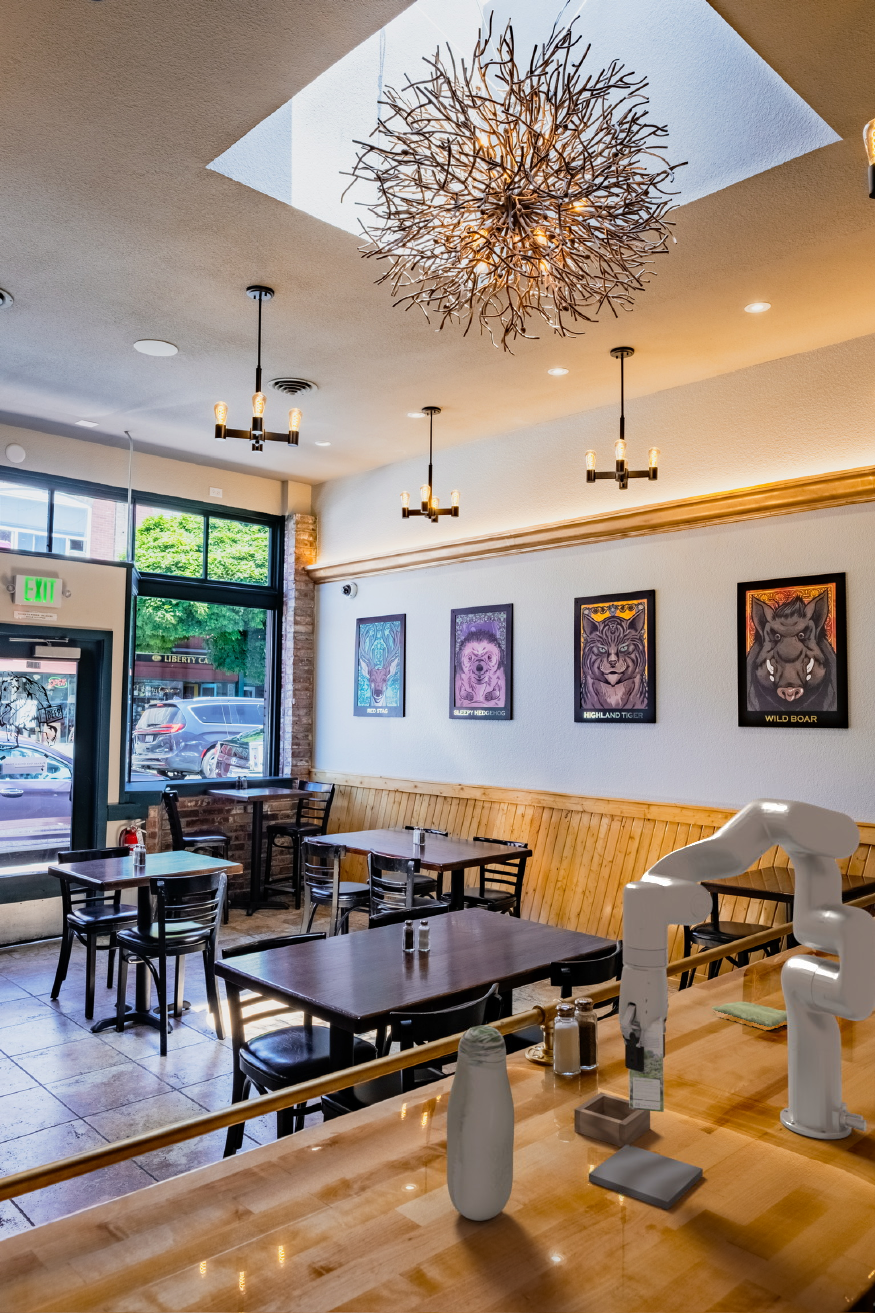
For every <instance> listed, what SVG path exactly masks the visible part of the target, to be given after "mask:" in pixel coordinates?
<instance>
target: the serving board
mask: <svg viewBox="0 0 875 1313" xmlns="http://www.w3.org/2000/svg"><path fill="white" fill-rule="evenodd" d="M703 1171H704V1169H703V1167H700V1166H696V1165H693V1164H689V1163H687V1162H684V1161H681V1160H678V1159H675V1158H671V1157H668V1156H666V1155H662V1154H660V1153H657V1152H652V1151H650V1150H646V1149H644V1148H640V1147H638V1146H634V1145H631V1144H630V1145H629V1144H626V1145H625V1146H624V1147H621V1148H620V1149H619V1150H617V1151H616V1152H615V1153H614V1154H613V1155H611V1156H610V1157H608V1158H607V1159H606V1160H604V1161H603V1162H602V1163H600V1164H599V1165H598V1166H597V1167H595V1168H594V1169H593V1170H591V1171H590V1172H589V1173H588V1182H590V1183H592V1184H593V1183H594V1184H596V1185H599V1186H602V1187H604V1188H607V1189H609V1190H612V1191H615V1192H618V1193H621V1194H623V1195H626V1196H629V1197H631V1198H635V1199H637V1200H639V1201H643V1202H645V1203H648V1204H651V1205H654V1206H657V1207H659V1208H662V1209H664V1210H669V1209H670V1208H672V1207H673V1205H675V1204H676V1203H677V1201H679V1200H680V1199H681V1198H682V1197H683V1196H685V1194H686V1193H687V1192H688V1191H689V1190H690V1189H691V1188H692V1187H693V1186H694V1185H696V1183H697V1182H698V1181H699V1180H701V1178H702V1177H703V1175H704V1174H703Z"/></svg>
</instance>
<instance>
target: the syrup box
mask: <svg viewBox="0 0 875 1313" xmlns="http://www.w3.org/2000/svg"><path fill="white" fill-rule="evenodd" d="M632 1025H635V1026H640V1024H639V1023H636V1022H634V1021H633V1023H632ZM632 1032H634V1033H635V1035H636V1037H637V1036H638V1032H639V1031H635V1030H632ZM663 1034H664V1033H663V1023H662V1018H661V1017H660V1018H658V1019H657V1020H655V1021H654V1022H653V1023H652V1025H651V1027H650V1028H649V1029H647V1030H645V1032H644V1037H643V1042H642V1046H643V1047H644V1071H643V1072H639V1071H635V1070H631V1069H628V1100H629V1107H630V1109H636V1110H646V1111H650V1112H660V1113H664V1111H665V1098H664V1097H665V1094H664V1092H665V1090H664V1087H665V1086H664V1084H665V1083H664V1082H665V1081H664V1058H663Z"/></svg>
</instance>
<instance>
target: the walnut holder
mask: <svg viewBox="0 0 875 1313" xmlns="http://www.w3.org/2000/svg"><path fill="white" fill-rule="evenodd" d="M573 1111H574V1119H573V1120H574V1121H573V1123H574V1128H573V1129H574V1130H573V1131H574V1132H575V1133H579V1134H582V1135H584V1136H586V1137H587V1136H588V1137H590V1138H593V1139H597V1140H599V1141H603V1142H606V1143H609V1144H612V1145H614V1146H618V1147H621V1148H623V1147H624V1146H625V1145H626V1144H630V1145H631V1144H632V1143H634V1142H635V1141H636V1140H637V1139H638V1137H639V1138H640V1137H641V1136H644V1134H645V1133H646V1132H648V1131H649V1130H651V1111H646V1110H636V1109H630V1107H629V1099H626V1098H622V1097H619V1096H615V1095H611V1094H608V1093H605V1092H601V1091H600V1092H599V1093H597V1094H596V1095H594V1096H593V1097H591V1098H590V1099H588V1100H587V1101H585V1102H584V1103H582V1104H581V1105H579V1106H577V1107H576V1108H574V1110H573ZM648 1129H649V1130H648ZM633 1141H634V1142H633Z"/></svg>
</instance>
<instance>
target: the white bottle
mask: <svg viewBox="0 0 875 1313" xmlns="http://www.w3.org/2000/svg"><path fill="white" fill-rule="evenodd" d="M457 1047H458V1048H457V1049H458V1050H457V1060H456V1067H455V1072H454V1076H453V1081H452V1085H451V1087H450V1091H449V1095H448V1101H447V1109H446V1182H447V1190H448V1195H449V1198H450V1202H452V1203H451V1204H452V1205H453V1207H454V1208H455V1210H456V1211H457V1212H458V1213H459V1214H460V1215H461V1216H463V1217H464V1218H467V1219H469V1220H472V1221H477V1222H478V1221H479V1222H480V1221H486V1220H490V1219H492V1218H494V1217H497V1215H499V1214H500V1213H501V1212H502V1211H503V1210H504V1209H505V1207H506V1205H507V1204H508V1201H509V1199H510V1197H511V1193H512V1189H513V1181H514V1180H513V1179H514V1143H515V1142H514V1141H515V1107H514V1100H513V1094H512V1089H511V1085H510V1080H509V1077H508V1068H507V1067H508V1066H507V1049H506V1042H505V1039H504V1036H503V1035H502V1034H501V1032H500V1031H499V1030H498V1029H497V1028H494V1027H493V1026H491V1025H487V1024H486V1025H485V1024H484V1025H477V1026H472V1027H470V1028H469V1029H467V1030H466V1031H465V1032H464V1033H463V1034H462V1035H461V1038H460V1039H459V1043H458V1046H457Z"/></svg>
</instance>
